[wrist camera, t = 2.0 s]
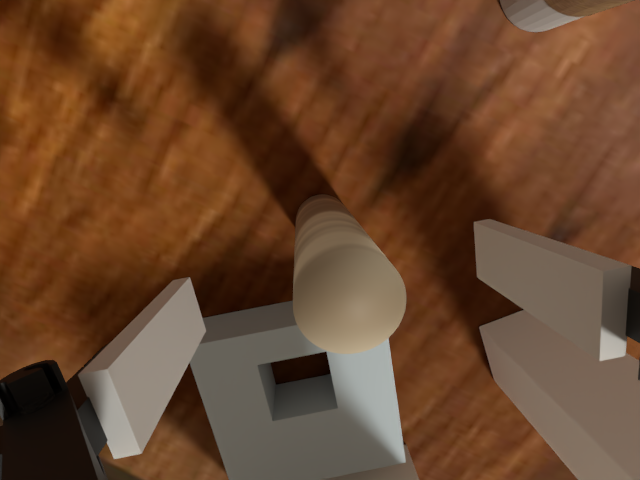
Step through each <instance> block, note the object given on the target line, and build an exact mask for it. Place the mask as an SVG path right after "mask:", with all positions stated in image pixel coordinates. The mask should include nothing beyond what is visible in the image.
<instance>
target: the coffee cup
mask: <svg viewBox="0 0 640 480" xmlns="http://www.w3.org/2000/svg"><path fill="white" fill-rule="evenodd" d="M631 1H634V0H500V4H501V6H502V9H503V12H504V13H505V15H506V17H507V18H508V19H509V20H510V21H511V22H512V23H513V24H514V25H515V26H517V27H518V28H520V29H522V30H525V31H529V32H541V31H546V30H549V29H552V28H555V27H558V26H560V25H563V24H566V23H568V22H571V21H574V20H577V19H579V18H582V17H585V16H589V15H592V14H595V13H598V12H601V11H604V10H607V9H610V8H613V7H616V6H619V5H622V4H625V3H628V2H631Z"/></svg>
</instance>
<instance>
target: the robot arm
mask: <svg viewBox="0 0 640 480" xmlns="http://www.w3.org/2000/svg"><path fill="white" fill-rule="evenodd" d="M474 237H475V253H476V269H477V278H478V279H480V280H481V281H483V282H484V283H486V284H487V285H489V286H490V287H492V288H493V289H494V290H496V291H497V292H499V293H500V294H502V295H503V296H505V297H506V298H508V299H509V300H511V301H512V302H514V303H515V304H516V305H518V306H519V307H521V308H522V309H524V310H525V311H527V312H528V313H530V314H531V315H533V316H534V317H535V318H537V319H538V320H540V321H541V322H543V323H544V324H546V325H547V326H549V327H550V328H552V329H553V330H555V331H556V332H557V333H559V334H560V335H562V336H563V337H565V338H566V339H568V340H569V341H571V342H572V343H574V344H575V345H577V346H578V347H579V348H581V349H582V350H584V351H585V352H587V353H588V354H590V355H591V356H593V357H594V358H596V359H597V360H598V361H603V360H608V359H613V358H618V357H623V356H626V342H627V336H628V337H630V338H632V339H633V340H635V341H637V342H639V343H640V269H639V268H636V267H633V266H631V265H628V264H625V263H622V262H619V261H616V260H613V259H610V258H607V257H604V256H601V255H598V254H595V253H592V252H589V251H586V250H583V249H580V248H576V247H573V246H570V245H567V244H564V243H561V242H558V241H555V240H552V239H549V238H546V237H543V236H540V235H537V234H534V233H531V232H528V231H525V230H522V229H519V228H516V227H513V226H510V225H507V224H504V223H501V222H498V221H495V220H492V219H487V220H481V221H476V222H474ZM205 332H206V328H205V325H204V322H203V319H202V315H201V312H200V309H199V305H198V302H197V299H196V296H195V292H194V289H193V286H192V282H191V279H190V277H187V278H182V279H177V280H173V281H172V282H171V283H170V284H169V285H168V286H167V287H166V288H165V289H164V290H163V291H162V292H161V293H160V294H159V295H158V296H157V297H156V298H155V299H154V300H153V301H152V302H151V303H150V304H149V305H148V306H147V307H146V308H145V309H144V310H143V311H142V312H141V313H140V314H139V315H138V316H137V317H136V318H135V319H134V320H133V321H132V322H131V323H129V324H128V325H127V326H126V327H125V328H124V329H123V330H122V331H121V332H120V333H119V334H118V335H117V336H116V337H115V338H114V339H113V340H112V341H111V342H110V343H108V344H107V345H105V346H104V347H102V348H101V349H100V350H99V351H98V352H97V353H96V354H95V355H94V356H93V357H92V359H90V360H89V361H88V362H87V363H86V364H85V365H84V367H82V368H81V369H80V370H79V371H78V372H77V373H76V374H75V375H74V376H73V377H72V378H70V379H69V380H68V381H67V382H65V380H64V378H63V375H62V373H61V371H60V369H59V367H58V364H57V362H55V361H54V360H45V361H41V362H37V363H34V364H31V365H29V366H26V367H23V368H21V369H19V370H17V371H15V372H13V373H11V374H9V375H8V376H6V377H5V378H3V379H1V380H0V416H1V417H2V419H3V425H2V426H0V480H108V479H107V476H106V473H105V470H104V468H103V465H102V463H101V460H100V458H99V456H98V454H99V453H100V451H101V450H102V448H103V447H104V445H105V444H106V442H107V444H108V446H109V448H110V451H111V453H112V455H113V457H114V459H117V458H122V457H127V456H132V455H137V454H142V452H143V450H144V448H145V446H146V444H147V442H148V440H149V439H150V437H151V435H152V433H153V431H154V429H155V427H156V425H157V423H158V421H159V420H160V418H161V416H162V414H163V412H164V410H165V408H166V406H167V404H168V402H169V401H170V399H171V397H172V395H173V393H174V391H175V389H176V387H177V385H178V383H179V382H180V380H181V378H182V376H183V374H184V372H185V370H186V368H187V366H188V364H189V363H190V361H191V359H192V357H193V355H194V353H195V351H196V349H197V347H198V345H199V343H200V342H201V340H202V338H203V336H204V334H205ZM638 380H640V359H639V372H638Z"/></svg>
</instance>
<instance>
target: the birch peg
mask: <svg viewBox="0 0 640 480" xmlns="http://www.w3.org/2000/svg"><path fill="white" fill-rule="evenodd" d="M405 308H406V290H405V286H404V283H403V280H402V278H401V276H400V274H399V273H398V271H397V270H396V269H395V267H394V266H393V265H392V264H391V262H390V261H389V260H388V259H387V258H386V256H385V255H384V254H383V253H382V251H381V250H380V249H379V248H378V246H377V245H376V244H375V243H374V242H373V240H372V239H371V238H370V237H369V235H368V234H367V233H366V232H365V231H364V229H363V228H362V227H361V226H360V224H359V223H358V222H357V221H356V220H355V218H354V217H353V216H352V215H351V213H350V212H349V211H348V210H347V208H346V207H345V206H344V205H343V204H342V203H341V201H339V200H338V199H337V198H335V197H333V196H330V195H325V194H320V195H315V196H312V197H310V198H308V199H307V200H305V201H304V202H303V203H302V204H301V206H300V207H299V209H298V211H297V215H296V228H295V254H294V281H293V313H294V317H295V321H296V323H297V325H298V327H299V329H300V330H301V332H302V333H303V335H304V336H305V337H306V338H307V339H308V340H309V341H310V342H312V343H313V344H314V345H316V346H318V347H320V348H322V349H324V350H326V351H329V352H333V353H339V354H354V353H360V352H364V351H367V350H370V349H372V348H374V347H376V346H378V345H379V344H381V343H382V342H384V341H385V340H386V339H388V338H389V337H390V336H391V335H392V334H393V332H394V331H395V330H396V329H397V327H398V326H399V324H400V322H401V320H402V318H403V315H404V312H405Z"/></svg>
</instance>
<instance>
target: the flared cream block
mask: <svg viewBox="0 0 640 480" xmlns="http://www.w3.org/2000/svg"><path fill="white" fill-rule="evenodd" d="M403 446H404V453H405V460H406V463H402V464H397V465H392V466H387V467H382V468H377V469H372V470H367V471H362V472H357V473H352V474H347V475H342V476H337V477H332V478H327V479H322V480H419V478H418V475H417V473H416V470H415V467H414V465H413V462H412V459H411V456H410V454H409V451H408V448H407V445H403Z"/></svg>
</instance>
